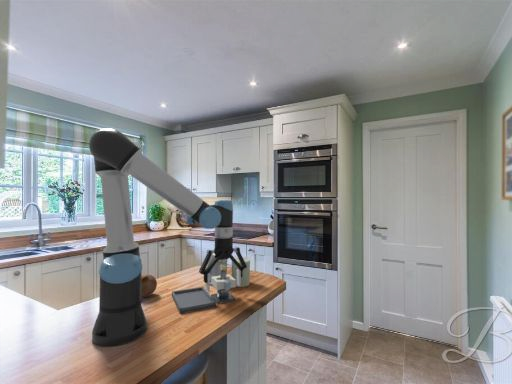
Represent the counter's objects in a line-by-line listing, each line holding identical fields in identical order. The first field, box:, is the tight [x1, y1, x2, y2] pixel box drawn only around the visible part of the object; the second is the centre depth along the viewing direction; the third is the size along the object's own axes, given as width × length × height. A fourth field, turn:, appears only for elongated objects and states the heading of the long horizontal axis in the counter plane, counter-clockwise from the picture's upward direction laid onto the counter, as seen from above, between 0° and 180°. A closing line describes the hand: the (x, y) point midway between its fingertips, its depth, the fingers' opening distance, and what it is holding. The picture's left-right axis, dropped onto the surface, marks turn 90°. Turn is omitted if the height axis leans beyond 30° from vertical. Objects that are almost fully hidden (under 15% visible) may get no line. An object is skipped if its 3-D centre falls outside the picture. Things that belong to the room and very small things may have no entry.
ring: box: [210, 273, 237, 291], centre depth 109 cm, size 8×10×3 cm
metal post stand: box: [210, 264, 236, 305], centre depth 110 cm, size 8×8×14 cm
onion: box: [141, 274, 158, 298], centre depth 112 cm, size 10×9×10 cm
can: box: [231, 257, 251, 288], centre depth 129 cm, size 9×9×12 cm
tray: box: [171, 286, 217, 314], centre depth 108 cm, size 14×19×2 cm
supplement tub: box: [207, 253, 228, 286], centre depth 130 cm, size 10×10×15 cm
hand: (223, 287), depth 110 cm, fingers open, 13 cm apart
